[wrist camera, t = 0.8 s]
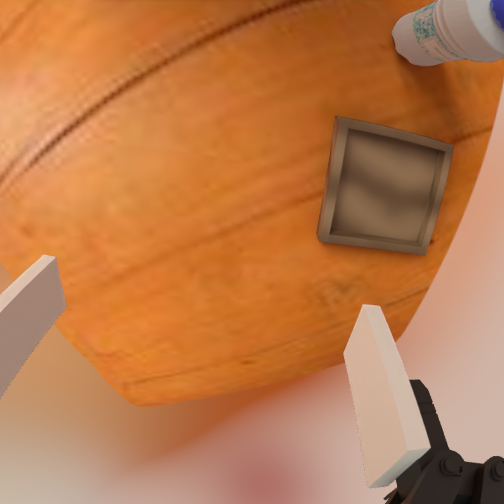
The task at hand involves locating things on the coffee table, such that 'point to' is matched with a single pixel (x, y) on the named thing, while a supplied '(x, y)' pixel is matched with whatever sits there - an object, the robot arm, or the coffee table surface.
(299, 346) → the coffee table surface
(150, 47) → the coffee table surface
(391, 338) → the robot arm
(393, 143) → the tray
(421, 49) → the bottle
